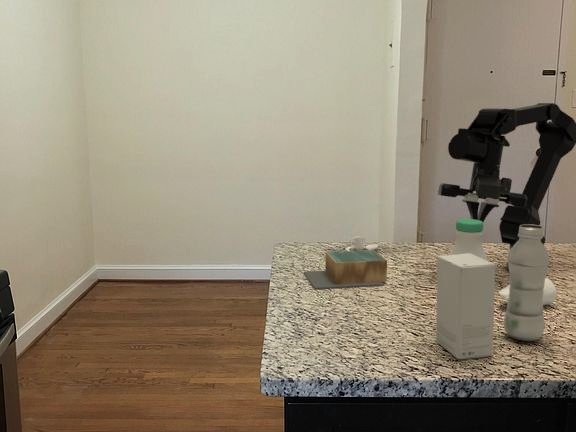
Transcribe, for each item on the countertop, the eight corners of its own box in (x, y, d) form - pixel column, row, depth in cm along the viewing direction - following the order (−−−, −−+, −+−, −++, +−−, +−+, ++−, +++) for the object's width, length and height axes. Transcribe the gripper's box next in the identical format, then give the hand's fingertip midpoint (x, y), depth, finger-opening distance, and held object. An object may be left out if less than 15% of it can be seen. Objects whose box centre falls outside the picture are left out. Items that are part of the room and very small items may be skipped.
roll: (487, 305, 119) (489, 279, 118) (534, 298, 123) (536, 273, 122) (508, 315, 114) (510, 288, 113) (556, 308, 118) (558, 281, 117)
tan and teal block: (373, 249, 143) (325, 251, 141) (387, 260, 133) (335, 262, 131) (373, 269, 143) (325, 272, 142) (386, 281, 134) (335, 284, 132)
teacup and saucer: (381, 250, 166) (381, 236, 165) (369, 256, 159) (369, 241, 159) (353, 246, 171) (353, 232, 170) (340, 252, 164) (340, 238, 163)
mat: (366, 269, 145) (366, 268, 145) (383, 285, 132) (384, 283, 132) (303, 273, 142) (303, 271, 142) (314, 289, 130) (314, 287, 130)
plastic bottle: (547, 346, 99) (557, 231, 95) (505, 343, 100) (513, 229, 96) (539, 332, 105) (548, 223, 101) (499, 329, 106) (507, 222, 102)
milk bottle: (488, 323, 109) (495, 218, 105) (483, 338, 102) (490, 226, 99) (446, 317, 112) (451, 215, 109) (438, 331, 106) (443, 223, 102)
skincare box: (493, 357, 95) (499, 264, 92) (455, 361, 93) (460, 267, 90) (467, 337, 103) (472, 251, 100) (432, 340, 101) (436, 253, 99)
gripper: (450, 158, 125) (438, 230, 127) (540, 170, 123) (527, 243, 124) (443, 159, 136) (432, 225, 138) (525, 169, 134) (513, 236, 135)
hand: (475, 232), depth 134 cm, fingers closed
